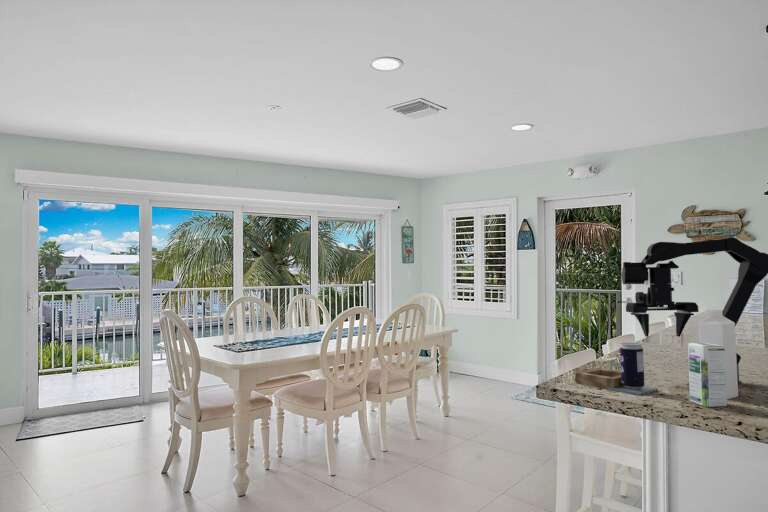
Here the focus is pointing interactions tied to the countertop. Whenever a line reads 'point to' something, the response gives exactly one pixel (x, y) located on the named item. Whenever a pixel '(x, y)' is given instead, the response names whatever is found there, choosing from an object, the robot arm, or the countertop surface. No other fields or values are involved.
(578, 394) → the countertop surface
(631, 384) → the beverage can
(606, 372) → the walnut pocket block
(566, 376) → the countertop surface
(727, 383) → the milk
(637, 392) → the slate coaster
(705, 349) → the syrup box
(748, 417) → the countertop surface
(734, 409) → the countertop surface
